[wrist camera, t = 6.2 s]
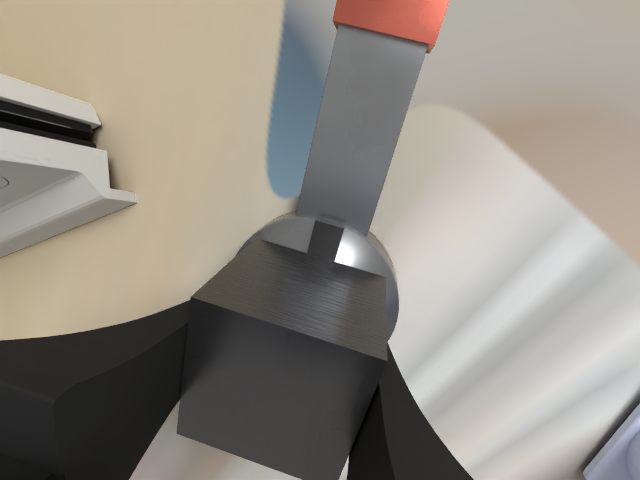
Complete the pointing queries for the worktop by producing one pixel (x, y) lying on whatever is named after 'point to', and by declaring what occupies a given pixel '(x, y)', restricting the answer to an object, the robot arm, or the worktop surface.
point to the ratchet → (359, 134)
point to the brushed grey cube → (283, 359)
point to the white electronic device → (49, 166)
